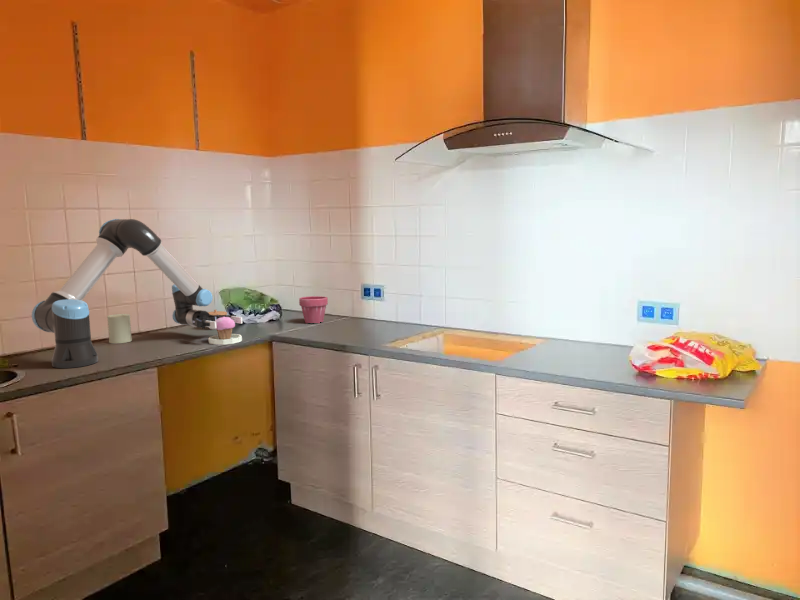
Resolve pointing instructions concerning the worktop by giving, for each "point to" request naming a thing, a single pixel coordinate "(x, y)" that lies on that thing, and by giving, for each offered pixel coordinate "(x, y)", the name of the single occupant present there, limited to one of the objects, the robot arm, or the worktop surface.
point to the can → (119, 328)
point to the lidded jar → (217, 314)
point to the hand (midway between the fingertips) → (228, 322)
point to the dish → (234, 339)
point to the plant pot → (313, 308)
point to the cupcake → (224, 327)
